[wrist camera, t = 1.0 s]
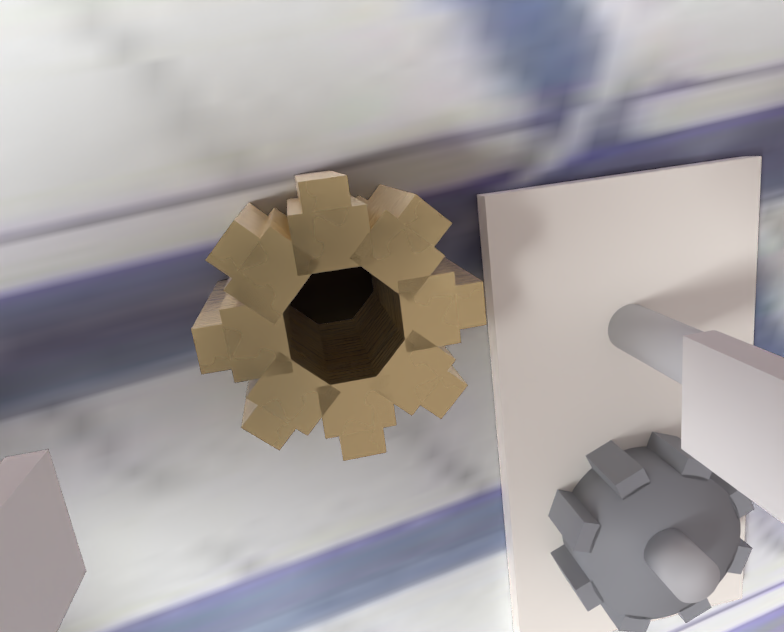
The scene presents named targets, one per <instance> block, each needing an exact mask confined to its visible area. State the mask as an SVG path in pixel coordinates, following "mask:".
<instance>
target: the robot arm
mask: <svg viewBox="0 0 784 632" xmlns="http://www.w3.org/2000/svg"><path fill="white" fill-rule="evenodd" d="M681 449H682V450H684V451H685V452H686V453H688V454H689V455H691V456H692V457H693V458H695V459H696V460H697V461H699V462H700V463H701V464H703V465H704V466H705V467H707V468H708V469H710V470H711V471H712V472H714V473H715V474H716V475H718V476H719V477H720V478H722V479H723V480H725V481H726V482H727V483H729V484H730V485H731V486H733V487H734V488H735V489H737V490H738V491H739V492H741V493H742V494H744V495H745V496H746V497H748V498H749V499H750V500H752V501H753V502H754V503H756V504H757V505H759V506H760V507H761V508H763V509H764V510H765V511H767V512H768V513H769V514H771V515H772V516H773V517H775V518H776V519H778V520H779V521H780V522H782V523H783V524H784V357H781V356H779V355H776V354H774V353H771V352H769V351H766V350H764V349H761V348H759V347H756V346H754V345H751V344H749V343H746V342H744V341H741V340H739V339H736V338H734V337H731V336H729V335H726V334H724V333H721V332H719V331H716V330H711V331H705V332H700V333H694V334H689V335H683V356H682V422H681ZM85 573H86V569H85V566H84V562H83V559H82V556H81V553H80V549H79V546H78V543H77V540H76V536H75V533H74V530H73V527H72V523H71V520H70V517H69V514H68V510H67V507H66V504H65V501H64V498H63V494H62V491H61V488H60V485H59V481H58V478H57V475H56V472H55V468H54V465H53V462H52V459H51V455H50V452H49V449H47V450H41V451H36V452H30V453H24V454H19V455H13V456H8V457H5V458H4V459H3V460H2V461H1V462H0V632H57V631H58V629H59V627H60V625H61V622H62V620H63V618H64V616H65V614H66V612H67V610H68V608H69V606H70V604H71V602H72V600H73V598H74V596H75V593H76V591H77V589H78V587H79V585H80V583H81V581H82V579H83V577H84V575H85Z"/></svg>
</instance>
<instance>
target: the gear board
mask: <svg viewBox="0 0 784 632" xmlns="http://www.w3.org/2000/svg"><path fill="white" fill-rule="evenodd" d="M761 160H762V156H741V157H734V158H728V159H721V160H714V161H707V162H700V163H693V164H686V165H679V166H672V167H665V168H658V169H651V170H644V171H637V172H630V173H623V174H617V175H610V176H603V177H596V178H589V179H582V180H575V181H568V182H561V183H554V184H547V185H540V186H533V187H526V188H519V189H512V190H506V191H499V192H492V193H485V194H478V195H477V204H478V216H479V228H480V239H481V251H482V263H483V275H484V287H485V299H486V310H487V322H488V334H489V346H490V358H491V370H492V382H493V393H494V405H495V417H496V429H497V441H498V453H499V464H500V476H501V488H502V500H503V512H504V524H505V535H506V547H507V559H508V571H509V583H510V595H511V606H512V618H513V630H514V632H611V631H615V630H619V631H627V632H646V630H647V628H648V625H649V623H650V622H651V621H655V620H659V619H663V618H667V617H671V616H675V615H679V616H680V617H681V618H682V619H683V620H684V621H685V623H687V622H689V621H690V620H692V619H693V618H695V617H697V616H698V615H700V614H702V613H703V612H705V611H706V610H708V609H710V608H711V606H715V605H718V604H722V603H726V602H730V601H734V600H738V599H742V589H743V568H744V566H745V564H746V562H747V559H748V557H749V555H750V552H751V550H752V547H750V546H749V545H748V544H747V543H746V542H745V521H746V514H747V513H749V512H751V511H752V510H754V507H753V505H752V503H751V500H750V499H749V498H748V497H746V496H745V495H744V494H742V493H741V492H739V491H738V490H737V489H735V488H734V487H733V486H731V485H730V484H729V483H727V482H726V481H725V480H723V479H722V478H720V477H719V476H718V475H716V474H715V473H714V472H712V471H711V470H710V469H708V468H707V467H705V466H704V465H703V464H701V463H700V462H699V461H697V460H696V459H695V458H693V457H692V456H691V455H689V454H688V453H686V452H685V451H684V450H682V449H681V422H682V356H683V335H689V334H694V333H700V332H705V331H711V330H716V331H719V332H721V333H724V334H726V335H729V336H731V337H734V338H736V339H739V340H741V341H744V342H746V343H749V344H751V345H753V341H754V318H755V295H756V273H757V250H758V228H759V205H760V183H761Z"/></svg>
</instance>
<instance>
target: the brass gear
mask: <svg viewBox="0 0 784 632" xmlns="http://www.w3.org/2000/svg"><path fill="white" fill-rule="evenodd" d="M294 177H295V183H296V189H297V195H298V198H292V199H287V216H286V215H285V214H283V213H282V212H281V211H279V210H278V209H277V208H275V207H274V208H273V209H272V211H271V212H270V213H269V215H268V216H267V215H266V214H265V213H263V212H262V211H260V210H259V209H258V208H256V207H255V206H253V205H252V204H251V203H248V204H247V205H246V206H245V207H244V209H243V210H242V211H241V212H240V213H239V215H238V216H237V217H236V218H235V219H234V221H233V222H232V224H231V225H230V226H229V228H228V229H227V231H226V232H225V233H224V235H223V236H222V238H221V239H220V240H219V242H218V243H217V245H216V246H215V247H214V249H213V250H212V252H211V253H210V254H209V256H208V257H207V259H206V260H205V261H207V262H208V263H210V264H211V265H213V266H214V267H216V268H217V269H219V270H220V271H222V272H223V273H225V274H226V275H228V276H229V279H228V280H223V281H218V282H217V284H216V285H215V287H214V289H213V291H212V293H211V294H210V296H209V298H208V300H207V302H206V303H205V305H204V307H203V309H202V311H201V312H200V314H199V316H198V318H197V320H196V321H195V323H194V325H193V327H192V329H191V331H192V335H193V339H194V344H195V348H196V352H197V357H198V361H199V366H200V370H201V374H207V373H212V372H218V371H224V370H230V369H232V373H233V378H234V382H235V383H236V382H242V381H248V386H247V392H246V401H245V407H244V413H243V419H242V425H241V428H242V429H244V430H246V431H248V432H249V433H251V434H253V435H254V436H256V437H258V438H259V439H261V440H263V441H264V442H266V443H268V444H269V445H271V446H273V447H275V448H276V449H278V450H280V449H281V448H282V446H283V445H284V444H285V442H286V441H287V440H288V438H289V437H290V436H291V435H292V433H293V432H294V431H295V429H297V430H299V431H301V432H302V433H304V434H306V435H307V436H308V435H309V433H310V432H311V431H312V429H313V428H314V427H315V425H316V424H317V423H318V421H319V420H320V419H321V418H322V421H323V426H324V432H325V438H326V439H327V438H333V437H338V436H339V440H340V445H341V450H342V456H343V461H345V460H350V459H355V458H360V457H366V456H371V455H376V454H381V453H386V445H385V438H384V431H383V428H384V427H390V426H395V425H396V418H395V410H394V404H395V405H397V406H398V407H400V408H401V409H403V410H404V411H406V412H407V413H409V414H410V415H413V414H414V413H415V411H416V410H417V409H418V407H419V406H420V405H421V406H422V407H424V408H425V409H427V410H428V411H430V412H431V413H433V414H434V415H436V416H437V417H439V418H440V419H442V417H443V416H444V415H445V414H446V412H447V411H448V410H449V409H450V407H451V406H452V405H453V404H454V402H455V401H456V400H457V398H458V397H459V396H460V395H461V393H462V392H463V391H464V390H465V388H466V387H467V386H468V385H467V383H466V382H465V381H464V380H463V378H462V377H461V376H460V375H459V373H458V372H457V371H456V370H455V368H454V367H453V366H452V364H453V363H454V362H455V360H456V359H455V358H454V357H453V356H452V355H451V353H450V352H449V351H448V350H447V349H446V348H445V345H451V344H457V343H461V337H460V329H465V328H471V327H477V326H483V325H487V322H486V311H485V299H484V287H483V281H482V280H480V279H478V278H477V277H475V276H474V275H472V274H470V273H469V272H467V271H466V270H464V269H462V268H461V267H459V266H458V265H456V264H455V263H453V262H451V261H450V260H448V259H447V258H445V255H444V254H442V253H441V252H440V251H439V250H437V249H436V248H435V245H436V244H437V243H438V241H439V240H440V239H441V237H442V236H443V235H444V234H445V232H446V231H447V230H448V228H449V227H450V226H451V224H452V223H451V222H450V221H449V220H448V219H446V218H445V217H444V216H443V215H441V214H440V213H439V212H438V211H436V210H435V209H434V208H433V207H431V206H430V205H429V204H428V203H426V202H425V201H424V200H423V199H421V198H420V197H419V196H418V195H416V194H414V193H410V192H406V191H403V190H399V189H396V188H392V187H388V186H385V185H381V184H379V186H378V187H377V188H376V190H375V191H374V193H373V194H372V195H371V197H370V198H369V199H368V200H367V199H365V198H363V197H361V196H359V195H358V196H357V197H356V198H355V197H353V196H351V195H350V192H349V185H348V178H347V175H344V174H341V173H337V172H334V171H330V170H329V171H321V172H314V173H306V174H299V175H294ZM359 266H361V267H363V268H364V269H365V270H367V271H368V272H369V273H371V279H372V286H373V292H372V294H371V295H370V296H369V298H368V299H367V300H366V302H365V303H364V304H363V306H362V307H361V308H360V310H359V311H358V312H357V313H356V315H355V316H354V317H353V319H348V320H342V321H336V322H330V323H324V324H317V323H316V322H314V321H313V320H311V319H310V318H308V317H307V316H305V315H304V314H302V313H301V312H299V311H298V310H297V309H295V308H294V307H292V306H291V305H290V303H291V301H292V300H293V299H294V297H295V296H296V295H297V293H298V292H299V291H300V289H301V288H302V286H303V285H304V284H305V282H306V281H307V280H308V278H309V277H310V276H311V274H314V273H321V272H327V271H334V270H340V269H346V268H353V267H359Z"/></svg>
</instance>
